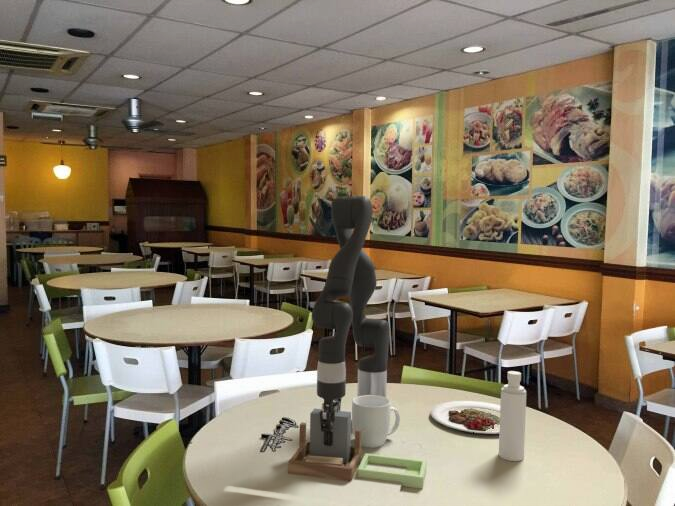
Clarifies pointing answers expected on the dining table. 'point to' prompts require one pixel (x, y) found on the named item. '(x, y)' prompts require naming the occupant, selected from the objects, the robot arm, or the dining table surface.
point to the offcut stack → (325, 460)
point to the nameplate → (283, 426)
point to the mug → (373, 419)
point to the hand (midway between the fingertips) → (330, 441)
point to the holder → (410, 478)
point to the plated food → (467, 416)
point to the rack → (325, 470)
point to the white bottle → (512, 419)
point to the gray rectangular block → (340, 436)
